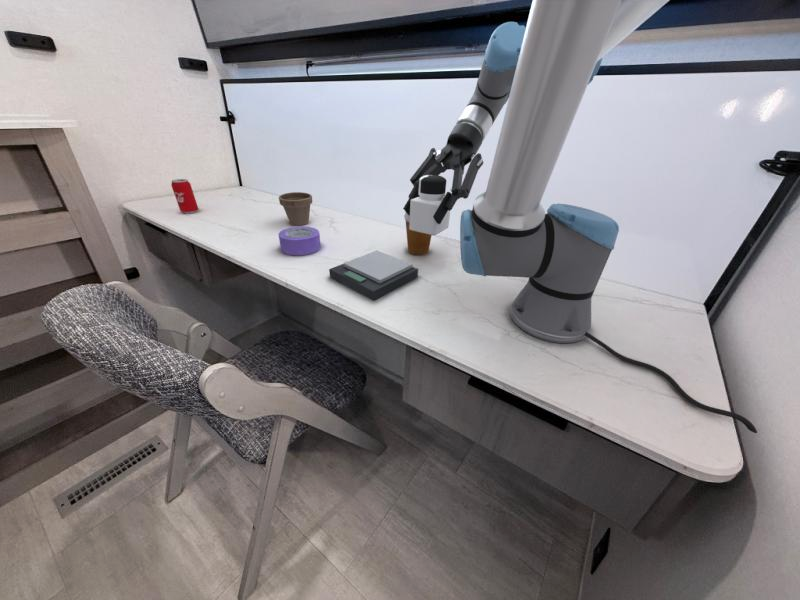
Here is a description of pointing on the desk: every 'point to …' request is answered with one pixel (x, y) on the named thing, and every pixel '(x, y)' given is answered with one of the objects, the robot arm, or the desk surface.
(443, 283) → the desk surface
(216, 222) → the desk surface
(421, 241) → the disposable coffee cup
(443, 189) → the medicine bottle
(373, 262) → the scale
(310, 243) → the tape roll
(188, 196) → the beverage can
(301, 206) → the flower pot
